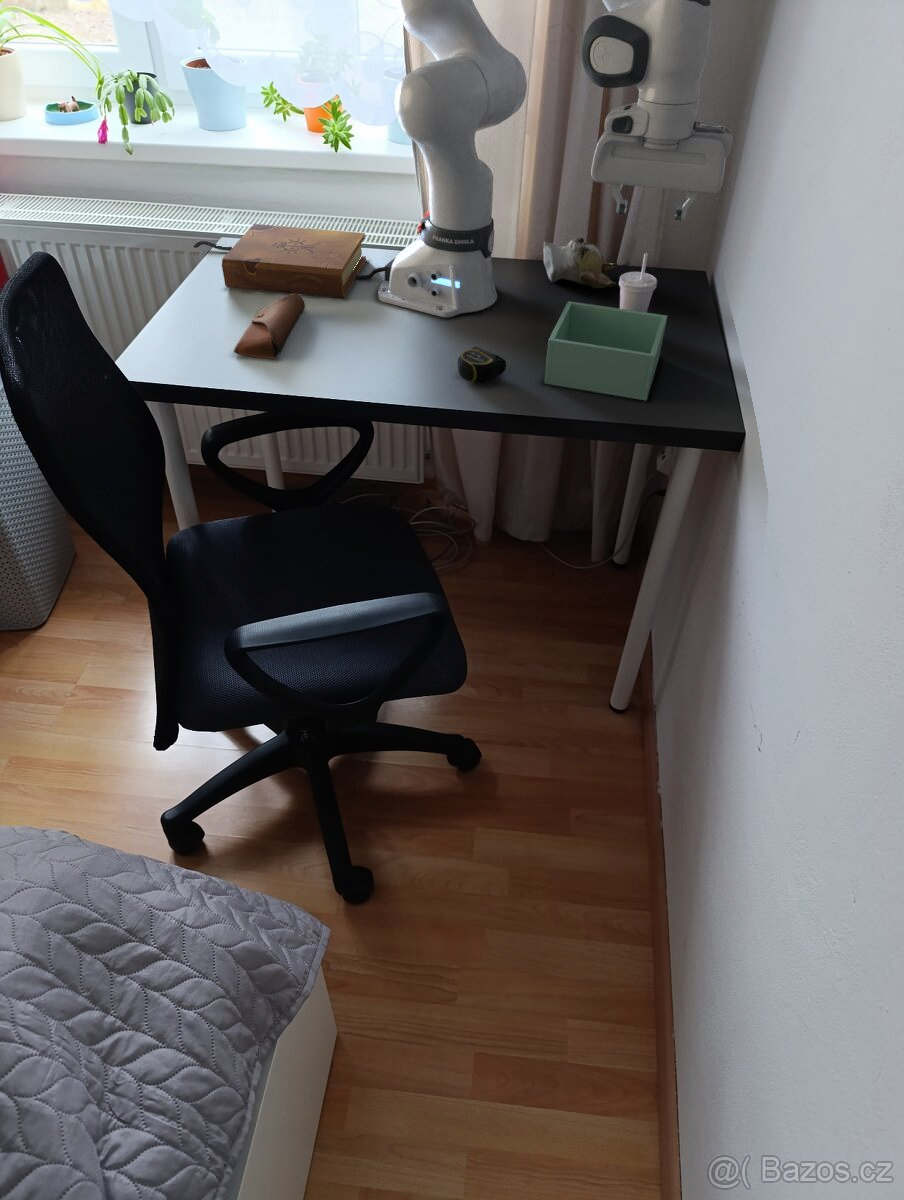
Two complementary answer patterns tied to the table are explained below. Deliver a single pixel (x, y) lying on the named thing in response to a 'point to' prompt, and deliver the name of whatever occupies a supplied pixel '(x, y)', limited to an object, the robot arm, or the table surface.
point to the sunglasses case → (271, 328)
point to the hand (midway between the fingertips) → (650, 215)
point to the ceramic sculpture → (577, 263)
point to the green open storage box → (605, 350)
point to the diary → (294, 261)
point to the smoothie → (636, 289)
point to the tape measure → (480, 365)
